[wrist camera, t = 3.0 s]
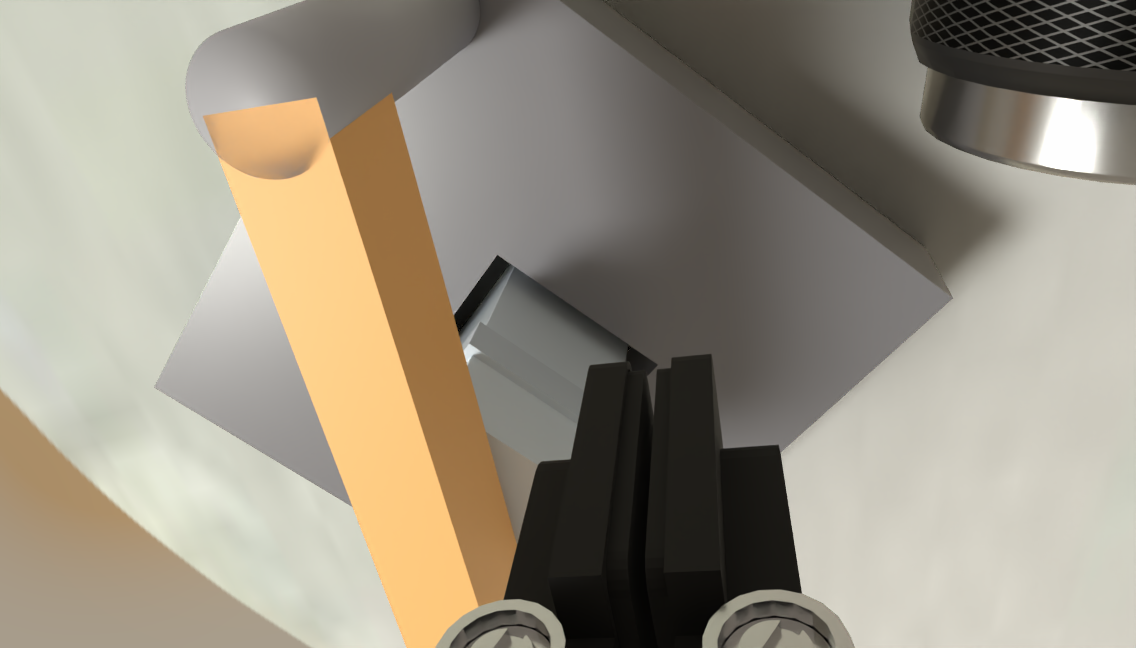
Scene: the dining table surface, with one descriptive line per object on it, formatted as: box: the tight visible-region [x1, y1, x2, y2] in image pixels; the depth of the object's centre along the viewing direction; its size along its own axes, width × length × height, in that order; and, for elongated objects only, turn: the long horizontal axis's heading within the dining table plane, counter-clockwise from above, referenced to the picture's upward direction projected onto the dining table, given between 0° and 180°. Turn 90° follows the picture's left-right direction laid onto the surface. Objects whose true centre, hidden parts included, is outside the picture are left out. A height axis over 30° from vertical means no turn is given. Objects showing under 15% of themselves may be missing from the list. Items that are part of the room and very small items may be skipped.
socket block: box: [154, 0, 953, 507], centre depth 28 cm, size 18×19×4 cm
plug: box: [459, 264, 628, 543], centre depth 26 cm, size 5×5×10 cm
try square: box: [185, 0, 517, 648], centre depth 21 cm, size 16×2×10 cm, turn 11°
